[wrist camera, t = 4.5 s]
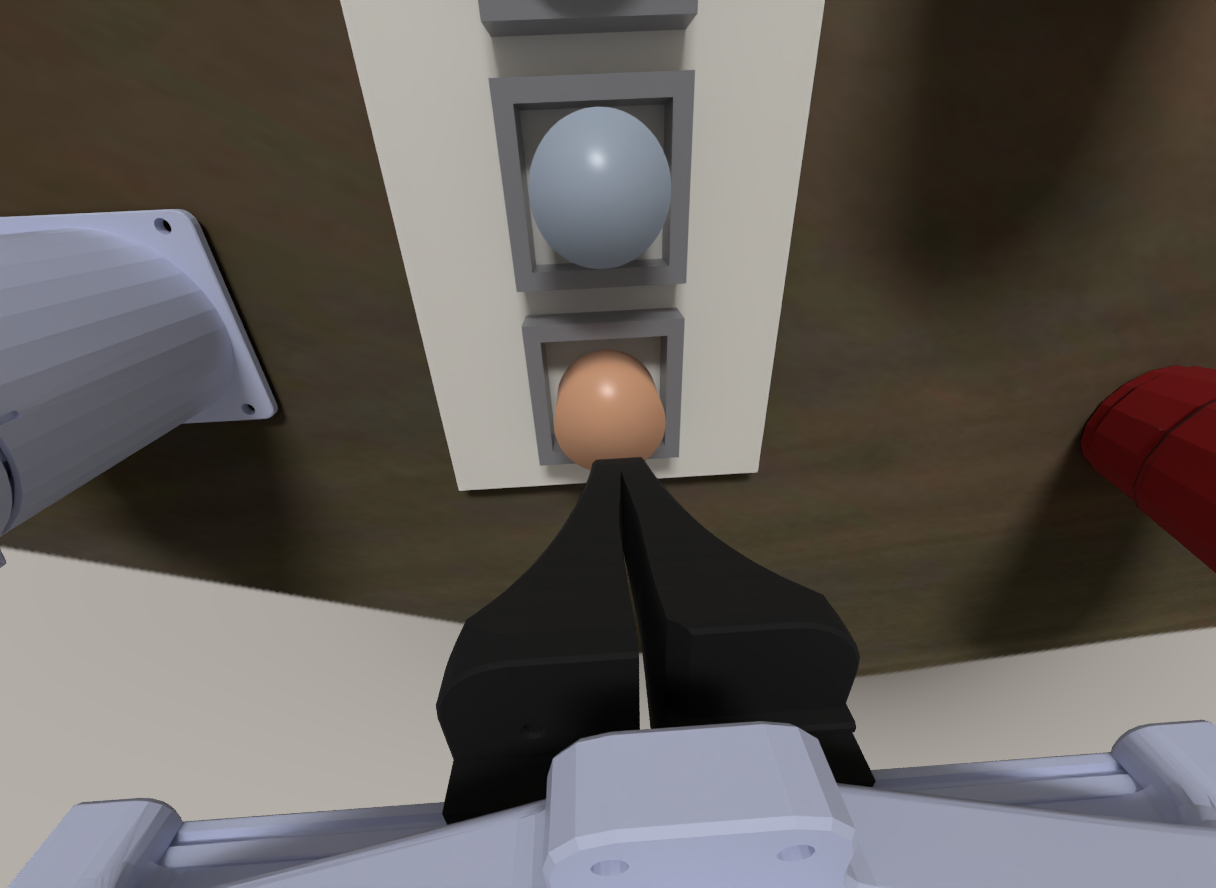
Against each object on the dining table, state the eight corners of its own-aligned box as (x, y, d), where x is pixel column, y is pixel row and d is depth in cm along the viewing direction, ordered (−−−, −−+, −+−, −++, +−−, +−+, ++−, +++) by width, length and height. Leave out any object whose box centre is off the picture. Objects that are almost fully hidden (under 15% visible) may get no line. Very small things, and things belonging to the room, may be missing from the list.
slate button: (542, 259, 15) (537, 272, 13) (528, 120, 14) (519, 109, 11) (657, 253, 16) (669, 265, 13) (659, 114, 14) (673, 103, 12)
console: (463, 478, 23) (450, 512, 20) (260, -396, 11) (175, -548, 8) (750, 461, 23) (769, 492, 21) (865, -405, 11) (938, -555, 9)
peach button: (561, 443, 19) (559, 476, 17) (552, 352, 17) (548, 377, 15) (655, 437, 19) (664, 469, 17) (656, 347, 17) (667, 370, 15)
